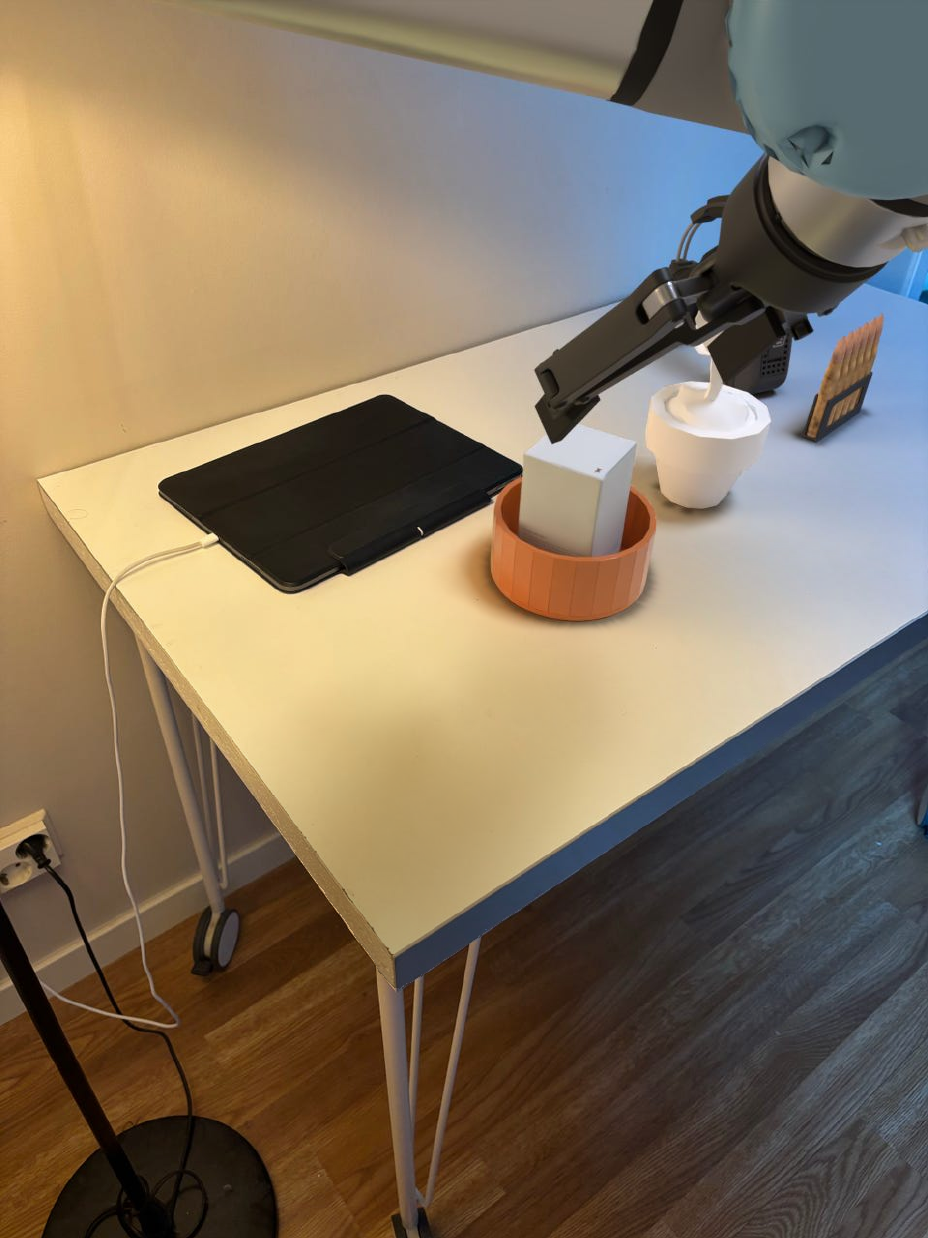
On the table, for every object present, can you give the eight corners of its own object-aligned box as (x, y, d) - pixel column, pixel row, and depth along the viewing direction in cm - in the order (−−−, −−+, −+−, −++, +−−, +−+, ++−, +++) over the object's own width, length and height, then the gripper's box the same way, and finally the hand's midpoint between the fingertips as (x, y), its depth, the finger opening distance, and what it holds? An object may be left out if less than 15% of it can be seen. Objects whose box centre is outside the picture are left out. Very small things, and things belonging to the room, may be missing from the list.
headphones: (787, 395, 116) (834, 226, 102) (745, 404, 113) (788, 233, 100) (682, 323, 131) (712, 168, 118) (643, 330, 128) (669, 173, 115)
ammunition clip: (846, 405, 114) (878, 308, 106) (860, 411, 113) (893, 313, 105) (801, 436, 108) (831, 335, 100) (816, 442, 107) (847, 341, 99)
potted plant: (740, 537, 93) (809, 284, 76) (623, 510, 96) (666, 260, 79) (757, 473, 102) (823, 234, 85) (650, 450, 105) (694, 215, 88)
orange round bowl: (498, 622, 82) (502, 562, 78) (484, 526, 93) (488, 469, 88) (660, 619, 83) (673, 560, 79) (628, 525, 94) (638, 468, 89)
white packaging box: (620, 561, 88) (641, 441, 80) (584, 603, 84) (602, 480, 75) (550, 534, 91) (564, 415, 83) (511, 573, 86) (521, 451, 78)
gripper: (639, 351, 39) (493, 506, 59) (1067, 206, 46) (807, 388, 66) (563, 188, 39) (445, 396, 59) (998, 70, 46) (761, 291, 67)
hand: (636, 392), depth 63 cm, fingers open, 13 cm apart
